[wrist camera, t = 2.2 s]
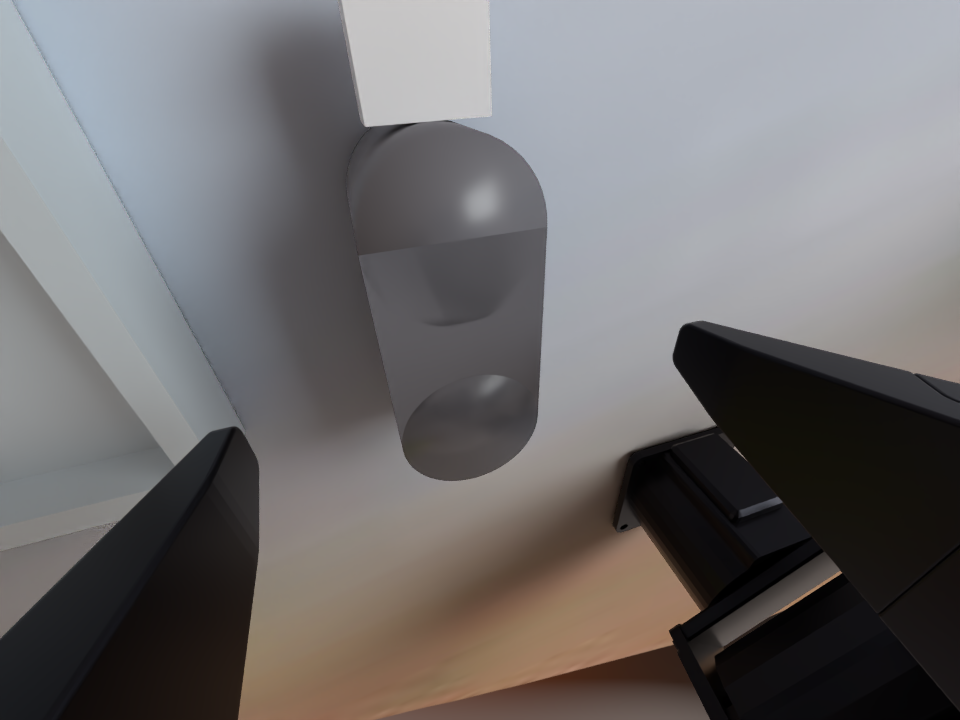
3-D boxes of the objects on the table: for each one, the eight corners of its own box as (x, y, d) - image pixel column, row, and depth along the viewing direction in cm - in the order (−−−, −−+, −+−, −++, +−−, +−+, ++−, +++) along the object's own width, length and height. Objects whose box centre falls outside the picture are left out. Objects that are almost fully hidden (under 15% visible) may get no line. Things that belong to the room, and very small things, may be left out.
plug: (491, 380, 15) (535, 460, 12) (394, 402, 14) (413, 494, 11) (476, -28, 9) (563, -89, 5) (296, -27, 8) (276, -98, 5)
